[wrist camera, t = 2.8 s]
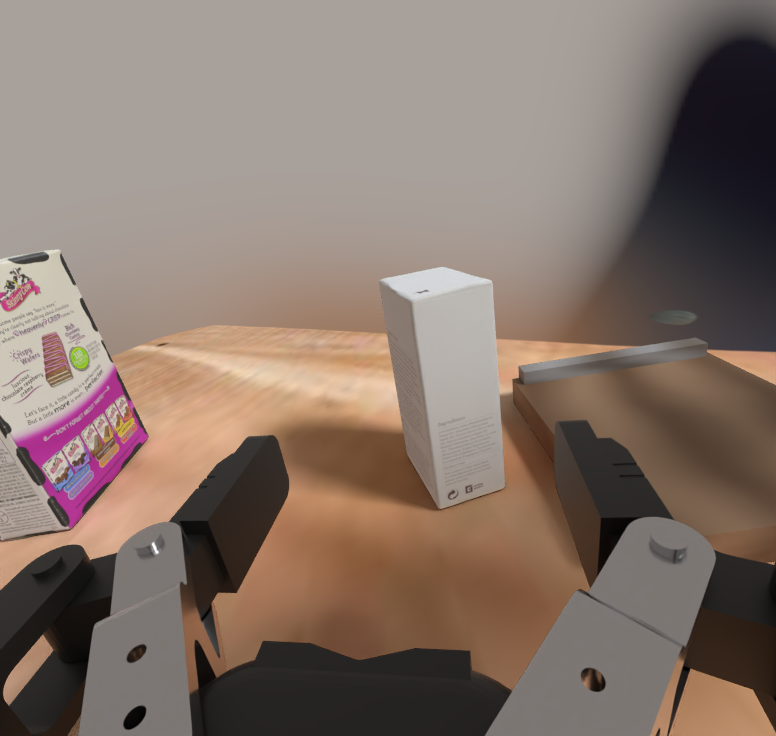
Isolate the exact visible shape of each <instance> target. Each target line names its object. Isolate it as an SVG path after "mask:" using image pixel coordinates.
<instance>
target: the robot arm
mask: <svg viewBox="0 0 776 736" xmlns="http://www.w3.org/2000/svg"><path fill="white" fill-rule="evenodd" d="M554 473H555V482H556V488H557V492H558V495H559V498H560V501H561V504H562V507H563V510H564V513H565V516H566V519H567V522H568V524H569V527H570V530H571V533H572V536H573V539H574V542H575V545H576V548H577V551H578V554H579V557H580V560H581V563H582V566H583V568H584V571H585V574H586V577H587V580H588V583H589V586H590V590H589V591H588V592H585V591H583V590H581V589H579V590H577V591H576V592H575V593H574V594H573V595H572V597H571V598H570V600H569V601H568V603H567V604H566V606H565V608H564V609H563V611H562V612H561V614H560V616H559V617H558V619H557V621H556V622H555V624H554V625H553V627H552V629H551V630H550V632H549V633H548V635H547V637H546V638H545V640H544V641H543V643H542V645H541V646H540V648H539V649H538V651H537V653H536V654H535V656H534V657H533V659H532V661H531V662H530V664H529V665H528V667H527V669H526V670H525V672H524V673H523V675H522V677H521V678H520V680H519V682H518V683H517V685H516V686H515V688H514V690H513V691H511V690H510V689H509V688H507V687H505V686H504V685H502V684H501V683H499V682H498V681H496V680H494V679H492V678H490V677H488V676H486V675H483V674H481V673H478V672H475V671H472V665H471V656H470V651H463V650H442V649H421V648H414V649H410V650H405V651H401V652H396V653H392V654H387V655H383V656H378V657H374V658H369V659H364V660H356V659H352V658H350V657H347V656H344V655H341V654H339V653H336V652H333V651H330V650H327V649H325V648H322V647H319V646H316V645H314V644H311V643H294V642H273V641H263V642H262V645H261V647H260V650H259V652H258V654H257V657H256V659H255V660H254V661H250V662H247V663H245V664H242V665H239V666H237V667H235V668H233V669H231V670H229V671H227V667H226V662H225V656H224V650H223V645H222V639H221V634H220V628H219V623H218V617H217V612H216V608H215V605H214V603H213V600H214V598H215V596H216V595H217V593H237V591H238V589H239V587H240V586H241V584H242V582H243V580H244V578H245V576H246V574H247V572H248V570H249V568H250V567H251V565H252V563H253V561H254V559H255V557H256V555H257V553H258V551H259V550H260V548H261V546H262V544H263V542H264V540H265V538H266V536H267V534H268V532H269V531H270V529H271V527H272V525H273V523H274V521H275V519H276V517H277V515H278V514H279V512H280V510H281V508H282V506H283V504H284V502H285V500H286V498H287V496H288V491H289V478H288V474H287V471H286V467H285V464H284V460H283V457H282V454H281V450H280V447H279V443H278V440H277V439H276V437H275V436H273V435H268V436H250V437H247V438H246V439H245V441H244V442H243V443H242V444H241V445H240V447H239V448H238V449H237V450H236V452H235V453H234V454H231V455H229V456H228V457H227V458H225V459H224V460H222V461H221V462H220V463H218V464H217V465H216V466H215V467H214V469H213V470H212V471H211V472H210V473H209V475H208V476H207V479H204V480H203V482H202V483H201V484H200V485H199V489H196V490H195V491H194V492H193V494H192V495H191V496H190V497H189V498H188V500H187V501H186V502H185V503H184V504H183V505H182V507H181V508H180V509H179V510H178V511H177V513H176V514H175V515H174V516H173V517H172V519H171V520H170V521H169V522H163V523H158V524H154V525H152V526H149V527H147V528H145V529H143V530H141V531H139V532H138V533H136V534H135V535H133V536H132V537H131V538H130V539H128V540H127V541H126V542H125V543H124V544H123V546H122V547H121V548H120V550H119V551H118V553H115V554H112V555H108V556H104V557H100V558H96V559H92V560H90V559H89V557H88V555H87V554H86V552H85V550H84V548H83V547H82V546H80V545H67V546H62V547H59V548H56V549H54V550H52V551H49V552H47V553H45V554H44V555H42V556H40V557H38V558H37V559H35V560H34V561H32V562H31V563H30V564H28V565H27V566H26V567H25V568H24V569H23V570H22V571H20V572H19V573H18V574H17V575H16V576H15V577H14V578H13V579H12V580H11V581H10V582H9V583H8V584H7V585H6V586H5V587H4V588H3V589H1V590H0V736H67V735H68V733H69V732H70V730H71V729H72V727H73V726H74V724H75V723H76V721H77V720H78V718H79V717H80V715H81V720H80V727H79V734H78V736H671V734H672V731H673V728H674V725H675V722H676V719H677V716H678V712H679V709H680V706H681V703H682V700H683V697H684V694H685V691H686V688H687V685H688V681H689V678H690V675H691V672H692V669H693V670H696V671H699V672H702V673H705V674H708V675H711V676H714V677H717V678H720V679H723V680H726V681H729V682H732V683H735V684H738V685H741V686H744V687H747V688H750V689H753V690H754V692H755V694H756V696H757V698H758V700H759V702H760V704H761V705H762V707H763V709H764V711H765V713H766V715H767V717H768V719H769V721H770V722H771V724H772V726H773V728H774V730H775V732H776V562H775V565H772V564H767V563H763V562H758V561H754V560H749V559H745V558H740V557H736V556H732V555H728V554H724V553H721V552H718V551H716V550H714V549H713V547H712V546H711V544H710V543H709V542H708V541H707V540H706V538H705V537H703V536H702V535H701V534H700V533H699V532H697V531H696V530H694V529H693V528H691V527H689V526H687V525H685V524H683V523H680V522H678V521H675V520H674V519H673V517H672V516H671V514H670V512H669V511H668V509H667V508H666V506H665V505H664V503H663V502H662V500H661V499H660V497H659V496H658V494H657V493H656V491H655V490H654V488H653V487H652V485H651V484H650V482H649V481H648V479H647V478H645V476H644V473H643V472H642V470H641V469H640V467H639V466H637V463H636V461H635V460H634V458H633V456H632V455H631V453H630V452H629V450H628V449H627V448H625V447H624V446H622V445H621V444H619V443H618V442H617V441H615V440H614V439H612V438H597V437H596V435H595V433H594V431H593V430H592V428H591V426H590V424H589V423H588V421H587V420H570V421H556V423H555V445H554ZM42 635H44V637H45V638H46V640H47V641H48V643H49V644H50V645H51V647H52V648H53V650H54V651H53V652H52V653H51V655H50V656H49V657H48V658H47V660H46V661H45V662H44V663H43V665H42V666H41V667H40V668H39V670H38V671H37V672H36V673H35V674H34V676H33V677H32V678H31V679H30V681H29V682H28V683H27V684H26V686H25V687H24V688H23V689H22V691H21V692H20V693H19V694H18V696H17V697H16V698H15V699H14V701H13V702H12V703H11V704H10V706H8V704H7V703H6V702H5V700H4V698H3V688H4V685H5V682H6V680H7V678H8V676H9V674H10V672H11V671H12V670H13V669H14V667H15V666H16V665H17V664H18V663H19V661H20V660H21V659H22V658H23V657H24V656H25V654H26V653H27V652H28V651H29V650H30V649H31V647H32V646H33V645H34V644H35V643H36V642H37V640H38V639H39V638H40V637H41V636H42Z"/></svg>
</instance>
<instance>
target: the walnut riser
mask: <svg viewBox="0 0 776 736" xmlns="http://www.w3.org/2000/svg"><path fill="white" fill-rule="evenodd" d="M707 345H708V343H706V342H704V341H701V340H700V339H697V338H691V339H685V340H678V341H673V342H666V343H660V344H654V345H647V346H641V347H635V348H628V349H622V350H616V351H609V352H603V353H597V354H591V355H584V356H578V357H572V358H566V359H559V360H553V361H547V362H540V363H534V364H528V365H522V366H519V378H516V379H512V380H513V401H514V404H515V405H516V407H517V408H518V410H519V411H520V413H521V414H522V416H523V417H524V419H525V420H526V422H527V423H528V425H529V426H530V428H531V429H532V431H533V432H534V434H535V435H536V437H537V438H538V440H539V441H540V443H541V444H542V446H543V447H544V449H545V450H546V452H547V453H548V455H549V456H550V458H551V459H552V461H553V462H554V445H555V423H556V421H570V420H587V421H588V423H589V424H590V426H591V428H592V430H593V431H594V433H595V435H596V437H597V438H612V439H614V440H615V441H617V442H618V443H619V444H621V445H622V446H624V447H625V448H627V449H628V450H629V452H630V453H631V455H632V456H633V458H634V460H635V461H636V463H637V466H639V467H640V469H641V470H642V472H643V473H644V476H645V478H647V479H648V481H649V482H650V484H651V485H652V487H653V488H654V490H655V491H656V493H657V494H658V496H659V497H660V499H661V500H662V502H663V503H664V505H665V506H666V508H667V509H668V511H669V512H670V514H671V516H672V517H673V519H674V520H675V521H678V522H680V523H683V524H685V525H687V526H689V527H691V528H693V529H694V530H696V531H697V532H699V533H700V534H701V535H702V536H703V537H705V538H706V540H707V541H708V542H709V543H710V544H711V546H712V547H713V549H714V550H716V551H718V552H721V553H724V554H728V555H732V556H736V557H740V558H745V559H749V560H754V561H758V562H763V563H765V562H772V561H776V385H774V384H772V383H770V382H768V381H766V380H764V379H762V378H759V377H757V376H755V375H753V374H751V373H749V372H747V371H745V370H743V369H741V368H739V367H737V366H734V365H732V364H730V363H728V362H726V361H724V360H722V359H720V358H718V357H716V356H714V355H712V354H710V353H707Z"/></svg>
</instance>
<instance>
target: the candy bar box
mask: <svg viewBox="0 0 776 736" xmlns="http://www.w3.org/2000/svg"><path fill="white" fill-rule="evenodd" d="M148 437H149V436H148V434H147V432H146V430H145V428H144V426H143V424H142V422H141V420H140V417H139V415H138V413H137V411H136V409H135V407H134V405H133V403H132V401H131V399H130V397H129V395H128V392H127V390H126V388H125V386H124V384H123V382H122V380H121V378H120V376H119V374H118V372H117V369H116V367H115V365H114V363H113V361H112V359H111V357H110V355H109V353H108V351H107V350H106V347H105V344H104V343H103V340H102V338H101V336H100V334H99V332H98V330H97V327H96V325H95V323H94V321H93V319H92V317H91V315H90V313H89V311H88V309H87V307H86V305H85V302H84V300H83V298H82V296H81V294H80V292H79V290H78V288H77V286H76V283H75V281H74V279H73V277H72V275H71V273H70V271H69V269H68V267H67V265H66V263H65V261H64V259H63V257H62V254H61V251H60V250H49V251H42V252H36V253H30V254H25V255H19V256H13V257H8V258H3V259H0V540H2V541H8V540H17V539H23V538H27V537H31V536H37V535H42V534H47V533H54V532H59V531H64V530H69V529H71V528H72V527H74V526H75V525H76V524H77V522H78V521H79V520H80V519H81V518H82V516H83V515H84V514H85V513H86V512H87V511H88V509H89V508H90V507H91V506H92V505H93V504H94V502H95V501H96V500H97V499H98V497H99V496H100V495H101V494H102V493H103V492H104V490H105V489H106V488H107V487H108V485H109V484H110V483H111V482H112V481H113V479H114V478H115V477H116V476H117V475H118V473H119V472H120V471H121V470H122V469H123V467H124V466H125V465H126V464H127V463H128V461H129V460H130V459H131V458H132V457H133V455H134V454H135V453H136V452H137V451H138V449H139V448H140V447H141V446H142V444H143V443H144V442H145V441H146V440H147V438H148Z"/></svg>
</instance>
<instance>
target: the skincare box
mask: <svg viewBox="0 0 776 736" xmlns="http://www.w3.org/2000/svg"><path fill="white" fill-rule="evenodd" d="M379 286H380V292H381V298H382V304H383V311H384V316H385V323H386V330H387V336H388V342H389V348H390V354H391V360H392V366H393V372H394V378H395V384H396V390H397V396H398V402H399V408H400V414H401V421H402V427H403V433H404V439H405V445H406V451H407V455H408V457H409V459H410V460H411V462H412V464H413V466H414V467H415V469H416V471H417V473H418V474H419V476H420V478H421V479H422V481H423V483H424V485H425V486H426V488H427V490H428V491H429V493H430V495H431V496H432V498H433V500H434V502H435V503H436V505H437V507H438V508H439V509H443V508H446V507H449V506H452V505H455V504H458V503H461V502H464V501H467V500H470V499H473V498H476V497H479V496H482V495H485V494H489V493H492V492H495V491H498V490H501V489H503V488H504V487H505V475H504V459H503V445H502V428H501V412H500V394H499V379H498V364H497V349H496V334H495V317H494V301H493V285H492V281H491V280H488V279H484V278H480V277H476V276H472V275H469V274H466V273H463V272H459V271H456V270H452V269H449V268H446V267H439V268H434V269H429V270H424V271H419V272H415V273H410V274H405V275H400V276H396V277H390V278H385V279H381V280H380V281H379Z"/></svg>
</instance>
